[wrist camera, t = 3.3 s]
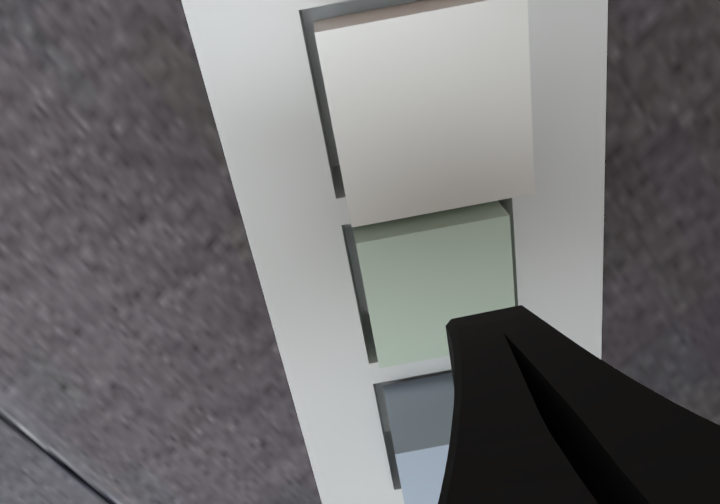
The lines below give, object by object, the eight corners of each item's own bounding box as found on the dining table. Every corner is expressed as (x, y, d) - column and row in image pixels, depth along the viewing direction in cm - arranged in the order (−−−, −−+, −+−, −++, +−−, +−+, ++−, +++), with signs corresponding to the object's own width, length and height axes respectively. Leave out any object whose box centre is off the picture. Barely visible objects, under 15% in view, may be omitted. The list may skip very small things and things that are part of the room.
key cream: (485, -12, 14) (527, -7, 11) (496, 155, 16) (535, 193, 13) (313, 20, 14) (314, 32, 11) (344, 183, 16) (351, 227, 13)
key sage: (480, 179, 18) (509, 215, 16) (489, 293, 20) (517, 342, 18) (348, 203, 18) (355, 243, 16) (370, 315, 20) (379, 368, 18)
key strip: (551, -380, 14) (616, -474, 11) (564, 419, 24) (599, 480, 21) (126, -300, 14) (77, -372, 11) (327, 463, 24) (329, 529, 21)
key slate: (510, 362, 19) (543, 426, 16) (516, 456, 21) (547, 529, 18) (383, 385, 19) (394, 454, 16) (400, 478, 21) (414, 553, 18)
